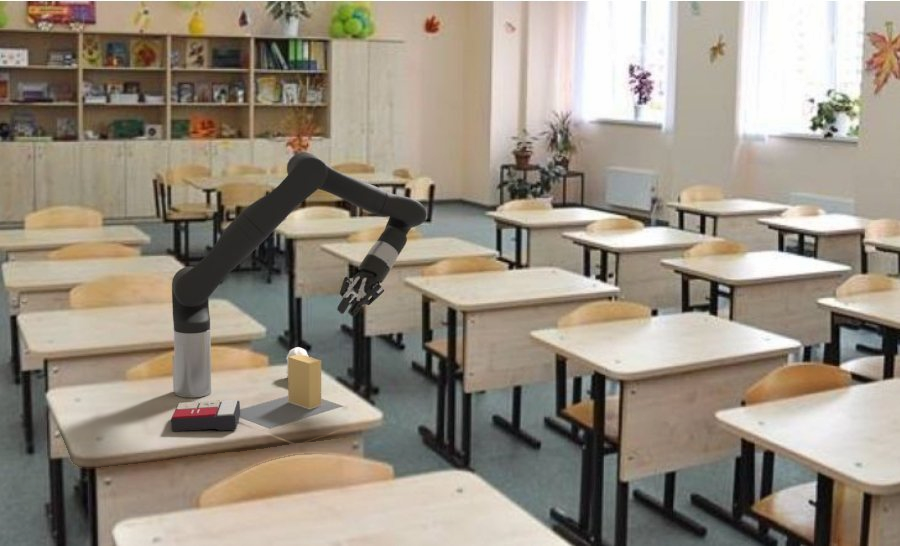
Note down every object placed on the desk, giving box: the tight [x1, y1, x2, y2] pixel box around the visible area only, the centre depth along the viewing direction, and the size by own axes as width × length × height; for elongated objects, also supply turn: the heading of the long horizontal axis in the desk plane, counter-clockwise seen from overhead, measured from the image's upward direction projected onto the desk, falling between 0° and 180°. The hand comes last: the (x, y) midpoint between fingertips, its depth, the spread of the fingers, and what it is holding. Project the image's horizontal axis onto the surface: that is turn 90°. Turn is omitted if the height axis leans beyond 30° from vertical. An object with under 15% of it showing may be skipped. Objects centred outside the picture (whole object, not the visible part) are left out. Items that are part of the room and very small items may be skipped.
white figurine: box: [286, 346, 310, 379], centre depth 291 cm, size 6×8×12 cm
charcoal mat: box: [239, 395, 343, 429], centre depth 267 cm, size 16×24×1 cm, turn 139°
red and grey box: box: [170, 399, 241, 432], centre depth 256 cm, size 11×4×15 cm
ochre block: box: [287, 354, 322, 409], centre depth 270 cm, size 8×4×12 cm, turn 49°
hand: (345, 313), depth 278 cm, fingers open, 3 cm apart
